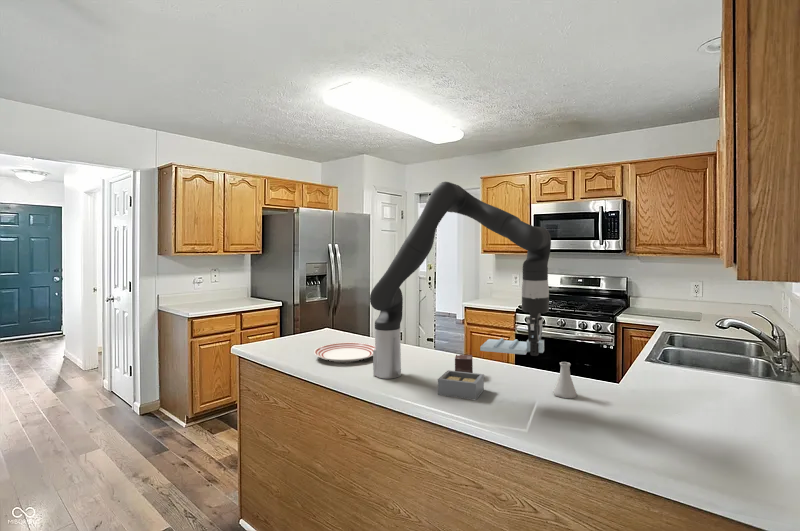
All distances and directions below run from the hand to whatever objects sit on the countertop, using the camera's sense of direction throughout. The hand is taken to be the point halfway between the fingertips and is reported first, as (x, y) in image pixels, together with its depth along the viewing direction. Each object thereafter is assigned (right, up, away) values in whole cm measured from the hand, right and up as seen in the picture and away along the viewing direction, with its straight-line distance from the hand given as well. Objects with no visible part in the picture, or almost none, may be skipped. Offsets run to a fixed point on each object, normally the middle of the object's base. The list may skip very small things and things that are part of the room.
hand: (535, 353), depth 126 cm
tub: (-20, -15, +10) cm, 27 cm away
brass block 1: (-23, -14, +11) cm, 29 cm away
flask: (+12, -15, +8) cm, 20 cm away
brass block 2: (-18, -14, +9) cm, 24 cm away
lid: (-6, +1, +3) cm, 6 cm away
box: (-17, -14, +27) cm, 35 cm away
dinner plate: (-62, -13, +58) cm, 86 cm away
